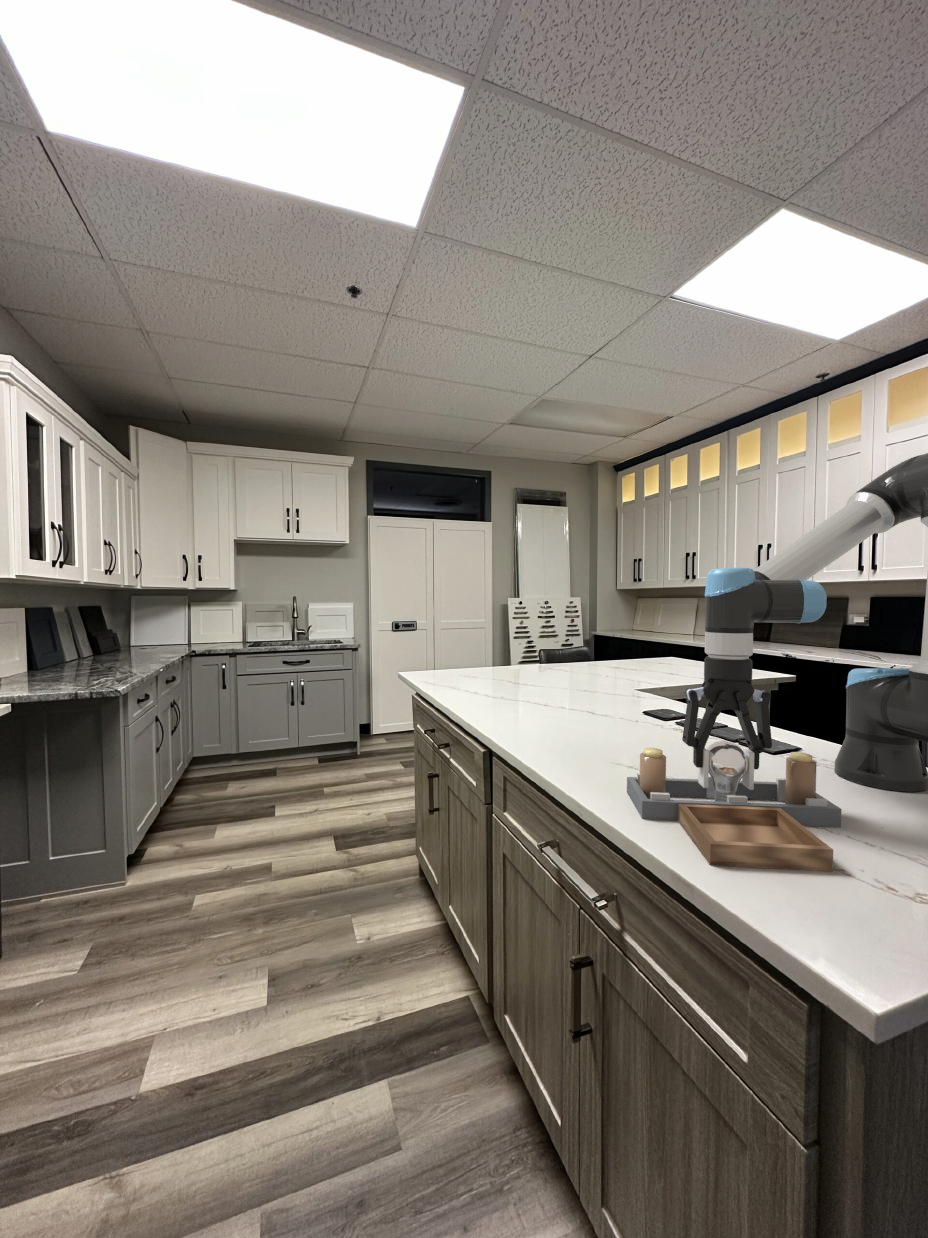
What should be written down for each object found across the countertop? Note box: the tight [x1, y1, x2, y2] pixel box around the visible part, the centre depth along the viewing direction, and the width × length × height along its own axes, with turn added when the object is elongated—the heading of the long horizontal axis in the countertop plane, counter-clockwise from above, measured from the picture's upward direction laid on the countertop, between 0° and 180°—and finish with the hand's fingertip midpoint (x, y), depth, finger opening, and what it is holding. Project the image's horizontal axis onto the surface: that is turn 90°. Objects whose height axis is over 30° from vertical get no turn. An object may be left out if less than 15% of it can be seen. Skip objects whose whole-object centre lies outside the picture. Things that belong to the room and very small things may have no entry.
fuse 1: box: [639, 747, 667, 799], centre depth 91 cm, size 4×4×10 cm
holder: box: [626, 772, 843, 828], centre depth 90 cm, size 31×12×4 cm, turn 84°
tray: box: [677, 804, 834, 872], centre depth 77 cm, size 16×14×3 cm
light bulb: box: [706, 740, 748, 802], centre depth 90 cm, size 7×7×12 cm
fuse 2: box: [784, 751, 817, 805], centre depth 89 cm, size 4×4×10 cm
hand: (725, 785), depth 90 cm, fingers closed on light bulb, 7 cm apart
